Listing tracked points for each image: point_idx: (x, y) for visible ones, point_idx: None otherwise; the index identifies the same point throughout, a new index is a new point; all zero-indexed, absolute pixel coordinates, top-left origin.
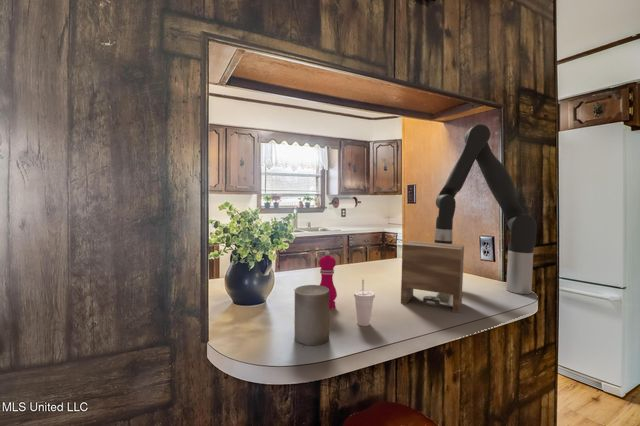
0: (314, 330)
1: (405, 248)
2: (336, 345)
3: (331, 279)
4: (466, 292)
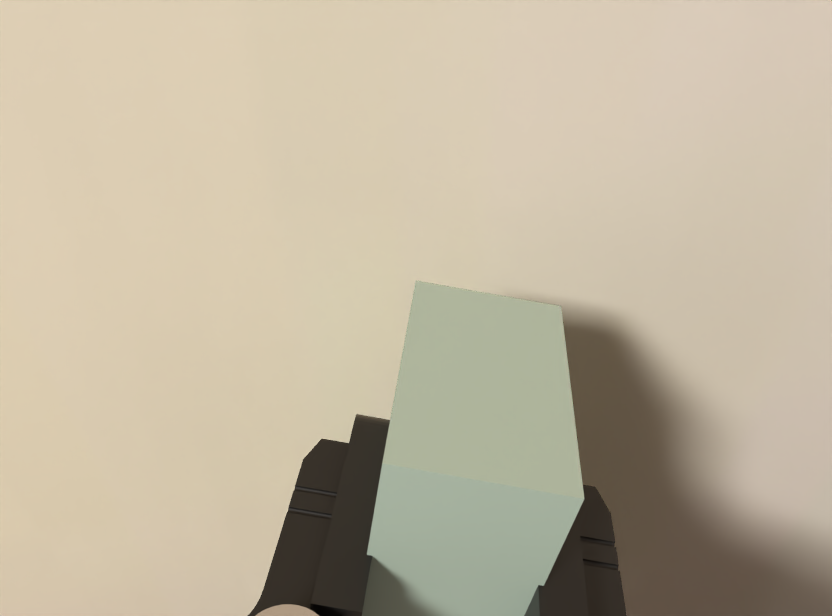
0: None
1: None
2: None
3: None
4: (810, 565)
